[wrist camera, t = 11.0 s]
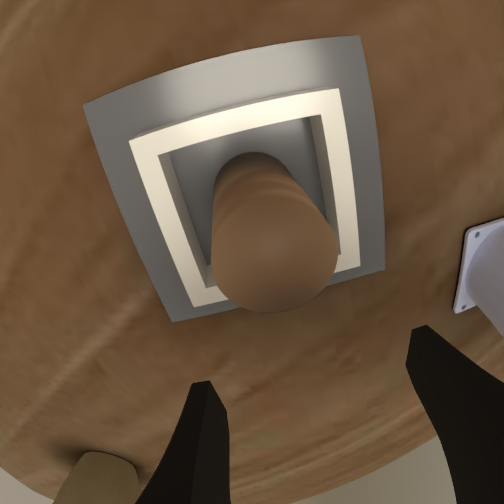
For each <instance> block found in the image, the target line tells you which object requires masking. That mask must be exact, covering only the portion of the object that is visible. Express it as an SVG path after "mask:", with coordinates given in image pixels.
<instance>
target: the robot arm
mask: <svg viewBox="0 0 504 504" xmlns="http://www.w3.org/2000/svg"><path fill="white" fill-rule="evenodd" d="M476 305H477V306H478V307H479V308H480V309H481V311H482V312H483V313H484V314H485V315H486V317H487V318H488V319H489V320H490V321H491V323H492V324H493V325H494V326H495V328H496V329H497V330H498V331H499V333H500V334H501V335H502V336H503V338H504V218H501V219H498V220H495V221H492V222H489V223H485V224H482V225H479V226H476V227H473V228H470V229H468V230H467V232H466V234H465V241H464V249H463V257H462V263H461V270H460V276H459V282H458V287H457V292H456V297H455V302H454V307H453V310H454V312H455V313H460V312H462V311H465V310H467V309H469V308H472V307H474V306H476ZM406 368H407V371H408V373H409V376H410V379H411V381H412V384H413V386H414V389H415V391H416V393H417V395H418V397H419V399H420V401H421V403H422V404H423V406H424V408H425V410H426V412H427V414H428V416H429V418H430V420H431V422H432V424H433V426H434V428H435V430H436V432H437V434H438V436H439V439H440V441H441V444H442V447H443V450H444V453H445V456H446V459H447V463H448V466H449V470H450V474H451V477H452V482H453V486H454V491H455V496H456V501H457V504H504V383H503V382H501V381H500V380H498V379H497V378H495V377H494V376H492V375H491V374H489V373H488V372H486V371H485V370H484V369H482V368H481V367H479V366H478V365H477V364H475V363H474V362H473V361H471V360H470V359H469V358H467V357H466V356H465V355H464V354H462V353H461V352H460V351H458V350H457V349H456V348H455V347H454V346H452V345H451V344H450V343H449V342H447V341H446V340H445V339H444V338H442V337H441V336H440V335H439V334H438V333H436V332H435V331H434V330H433V329H431V328H430V327H429V326H428V325H424V326H421V327H418V328H415V329H413V330H412V333H411V338H410V344H409V350H408V355H407V360H406ZM134 504H231V501H230V488H229V428H228V419H227V412H226V409H225V407H224V405H223V404H222V402H221V400H220V398H219V396H218V395H217V393H216V391H215V389H214V387H213V386H212V384H211V382H210V381H203V382H197V383H193V384H192V385H191V387H190V390H189V393H188V396H187V399H186V402H185V405H184V408H183V411H182V413H181V416H180V419H179V421H178V424H177V426H176V428H175V431H174V433H173V436H172V438H171V440H170V443H169V445H168V447H167V449H166V451H165V453H164V455H163V457H162V459H161V461H160V463H159V465H158V467H157V469H156V471H155V472H154V474H153V476H152V478H151V479H150V481H149V483H148V484H147V486H146V487H145V489H144V490H143V492H142V493H141V495H140V496H139V498H138V499H137V501H136V502H135V503H134Z"/></svg>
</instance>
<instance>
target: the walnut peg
mask: <svg viewBox="0 0 504 504" xmlns="http://www.w3.org/2000/svg"><path fill="white" fill-rule="evenodd" d="M337 260H338V245H337V240H336V237H335V234H334V232H333V230H332V228H331V226H330V225H329V224H328V222H327V221H326V220H325V218H324V217H323V215H322V214H321V213H320V211H319V210H318V209H317V207H316V206H315V205H314V203H313V202H312V201H311V199H310V198H309V197H308V195H307V194H306V193H305V191H304V190H303V189H302V187H301V186H300V185H299V183H298V182H297V181H296V180H295V178H294V177H293V176H292V174H291V173H290V172H289V171H288V169H287V168H286V167H285V166H284V164H283V163H282V162H281V161H279V160H278V159H277V158H275V157H273V156H271V155H269V154H266V153H262V152H247V153H243V154H240V155H237V156H235V157H233V158H232V159H230V160H229V161H228V162H227V163H225V164H224V166H223V167H222V168H221V169H220V171H219V172H218V174H217V177H216V179H215V183H214V194H213V217H212V245H211V269H212V274H213V278H214V280H215V282H216V285H217V286H218V288H219V289H220V291H221V292H222V293H223V294H224V296H225V297H227V298H228V299H229V300H230V301H231V302H233V303H234V304H236V305H238V306H240V307H242V308H244V309H247V310H250V311H255V312H261V313H276V312H283V311H288V310H291V309H294V308H297V307H299V306H301V305H303V304H305V303H307V302H308V301H310V300H311V299H313V298H314V297H315V296H317V295H318V294H319V293H320V292H321V291H322V290H323V289H324V288H325V286H326V285H327V284H328V282H329V281H330V279H331V277H332V275H333V273H334V271H335V268H336V264H337Z"/></svg>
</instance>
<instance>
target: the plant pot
mask: <svg viewBox="0 0 504 504" xmlns="http://www.w3.org/2000/svg"><path fill="white" fill-rule="evenodd" d="M141 493H142V490H141V486H140V483H139V480H138V477H137V473H136V470H135V468H134V466H133V465H132V464H131V463H129V462H128V461H126V460H124V459H122V458H119V457H117V456H114V455H110V454H106V453H102V452H86V453H85V454H84V455H83V456H82V457H81V458H80V460H79V461H78V462H77V464H76V465H75V467H74V468H73V469H72V471H71V472H70V474H69V475H68V477H67V479H66V480H65V482H64V483H63V485H62V487H61V489H60V490H59V492H58V494H57V496H56V498H55V500H54V503H53V504H134V503H135V502H136V501H137V499H138V498H139V496H140V495H141Z"/></svg>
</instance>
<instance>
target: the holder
mask: <svg viewBox="0 0 504 504" xmlns="http://www.w3.org/2000/svg"><path fill="white" fill-rule="evenodd" d="M82 106H83V109H84V112H85V115H86V118H87V122H88V125H89V128H90V131H91V134H92V137H93V140H94V143H95V145H96V148H97V151H98V154H99V157H100V160H101V162H102V165H103V168H104V170H105V173H106V176H107V178H108V181H109V184H110V186H111V189H112V191H113V194H114V196H115V199H116V201H117V204H118V206H119V209H120V211H121V214H122V216H123V218H124V221H125V223H126V226H127V228H128V230H129V233H130V235H131V237H132V239H133V242H134V244H135V246H136V248H137V251H138V253H139V255H140V257H141V260H142V262H143V264H144V266H145V268H146V270H147V272H148V275H149V277H150V279H151V281H152V283H153V285H154V287H155V289H156V291H157V293H158V295H159V297H160V299H161V301H162V303H163V305H164V307H165V309H166V311H167V313H168V315H169V317H170V319H171V321H172V323H173V322H177V321H182V320H187V319H192V318H196V317H201V316H206V315H210V314H215V313H219V312H224V311H228V310H232V309H237V308H241V307H240V306H238V305H236V304H234V303H233V302H231V301H230V300H229V299H228V298H227V297H225V296H224V294H223V293H222V292H221V291H220V289H219V288H218V286H217V285H216V282H215V280H214V278H213V274H212V269H211V245H212V217H213V194H214V183H215V179H216V177H217V174H218V172H219V171H220V169H221V168H222V167H223V166H224V164H225V163H227V162H228V161H229V160H230V159H232V158H233V157H235V156H237V155H240V154H243V153H247V152H262V153H266V154H269V155H271V156H273V157H275V158H277V159H278V160H279V161H281V162H282V163H283V164H284V166H285V167H286V168H287V169H288V171H289V172H290V173H291V174H292V176H293V177H294V178H295V180H296V181H297V182H298V183H299V185H300V186H301V187H302V189H303V190H304V191H305V193H306V194H307V195H308V197H309V198H310V199H311V201H312V202H313V203H314V205H315V206H316V207H317V209H318V210H319V211H320V213H321V214H322V215H323V217H324V218H325V220H326V221H327V222H328V224H329V225H330V226H331V228H332V230H333V232H334V234H335V237H336V240H337V245H338V260H337V264H336V268H335V271H334V273H333V275H332V277H331V279H330V281H329V282H328V284H327V285H326V286H329V285H333V284H336V283H340V282H344V281H347V280H351V279H354V278H358V277H362V276H365V275H369V274H372V273H376V272H379V271H382V270H385V225H384V204H383V188H382V175H381V164H380V154H379V144H378V136H377V128H376V120H375V113H374V107H373V100H372V94H371V88H370V82H369V77H368V72H367V66H366V61H365V57H364V52H363V47H362V43H361V38H360V35H357V36H341V37H330V38H320V39H311V40H303V41H296V42H289V43H282V44H276V45H271V46H265V47H260V48H255V49H250V50H245V51H240V52H236V53H232V54H227V55H223V56H219V57H215V58H211V59H208V60H204V61H200V62H197V63H193V64H190V65H187V66H183V67H180V68H177V69H174V70H171V71H167V72H164V73H161V74H159V75H156V76H153V77H150V78H147V79H144V80H142V81H139V82H136V83H134V84H131V85H129V86H126V87H124V88H121V89H119V90H116V91H114V92H111V93H109V94H107V95H104V96H102V97H100V98H98V99H95V100H93V101H91V102H89V103H87V104H84V105H82Z"/></svg>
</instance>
